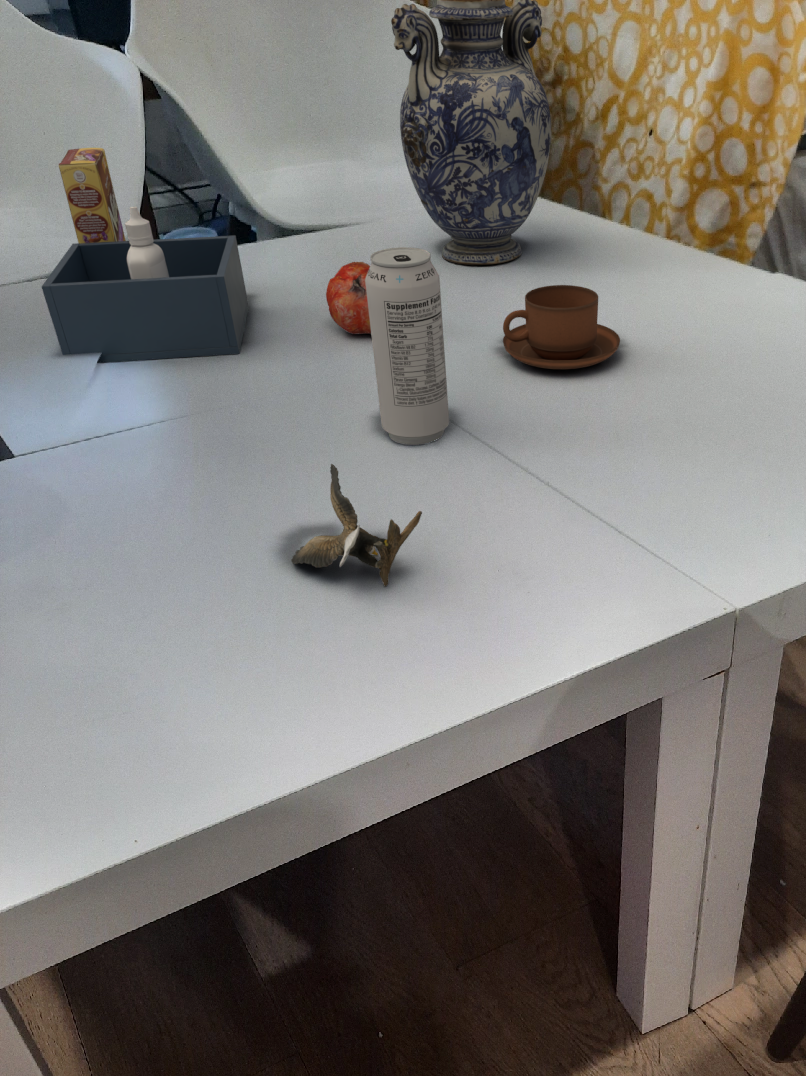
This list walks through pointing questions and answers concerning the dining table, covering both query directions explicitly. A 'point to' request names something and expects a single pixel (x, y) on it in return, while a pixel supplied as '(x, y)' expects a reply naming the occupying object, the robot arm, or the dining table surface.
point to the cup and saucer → (560, 329)
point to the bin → (149, 301)
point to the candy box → (91, 196)
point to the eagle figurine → (353, 538)
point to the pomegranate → (350, 298)
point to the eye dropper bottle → (143, 249)
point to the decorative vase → (474, 122)
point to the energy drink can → (408, 344)
